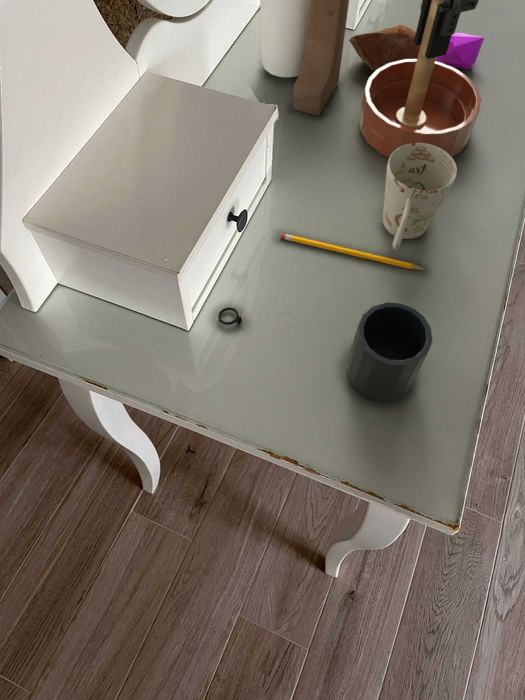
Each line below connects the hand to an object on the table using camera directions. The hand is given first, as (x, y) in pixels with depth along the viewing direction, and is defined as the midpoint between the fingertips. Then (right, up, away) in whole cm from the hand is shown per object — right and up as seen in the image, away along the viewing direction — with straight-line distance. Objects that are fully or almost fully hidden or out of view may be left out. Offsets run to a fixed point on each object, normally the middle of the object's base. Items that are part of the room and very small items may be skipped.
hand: (429, 48), depth 76 cm
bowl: (+1, -6, +12) cm, 14 cm away
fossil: (-1, +6, +20) cm, 21 cm away
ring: (-26, -36, -5) cm, 44 cm away
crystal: (+10, +8, +21) cm, 24 cm away
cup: (-18, +7, +20) cm, 27 cm away
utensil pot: (-8, -42, -8) cm, 44 cm away
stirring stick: (0, -6, +10) cm, 12 cm away
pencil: (-10, -27, +1) cm, 29 cm away
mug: (-3, -24, +2) cm, 24 cm away
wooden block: (-13, +1, +16) cm, 21 cm away
